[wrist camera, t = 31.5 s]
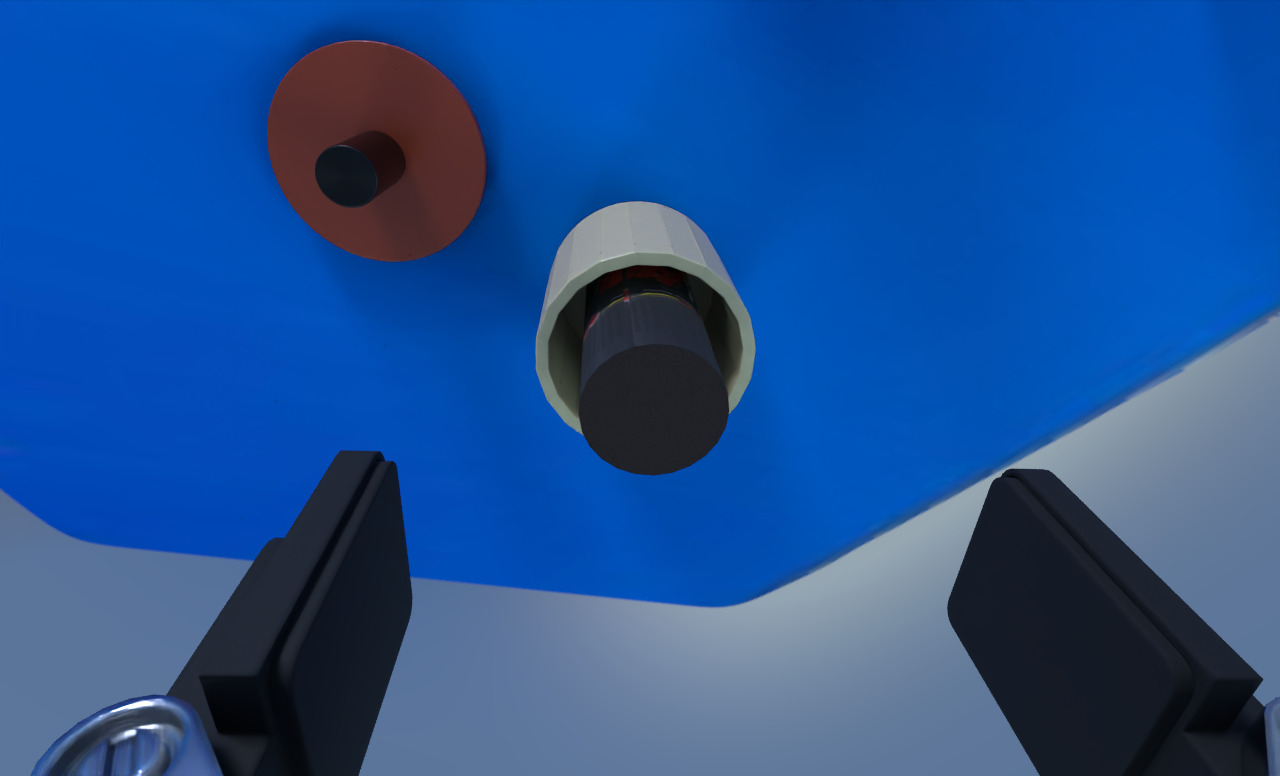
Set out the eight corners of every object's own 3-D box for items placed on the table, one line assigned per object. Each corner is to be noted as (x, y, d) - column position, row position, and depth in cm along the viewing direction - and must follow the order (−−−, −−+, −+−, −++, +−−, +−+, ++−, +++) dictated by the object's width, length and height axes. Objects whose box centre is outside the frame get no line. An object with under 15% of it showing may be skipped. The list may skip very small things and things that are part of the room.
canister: (731, 206, 39) (770, 258, 30) (711, 367, 43) (739, 454, 34) (550, 196, 38) (535, 246, 29) (550, 362, 43) (536, 448, 34)
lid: (484, 47, 34) (462, 51, 29) (492, 260, 39) (474, 297, 34) (257, 32, 34) (190, 32, 28) (295, 251, 39) (245, 287, 33)
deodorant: (708, 284, 40) (760, 409, 27) (637, 351, 42) (653, 499, 29) (636, 214, 38) (654, 312, 25) (565, 287, 40) (546, 415, 27)
